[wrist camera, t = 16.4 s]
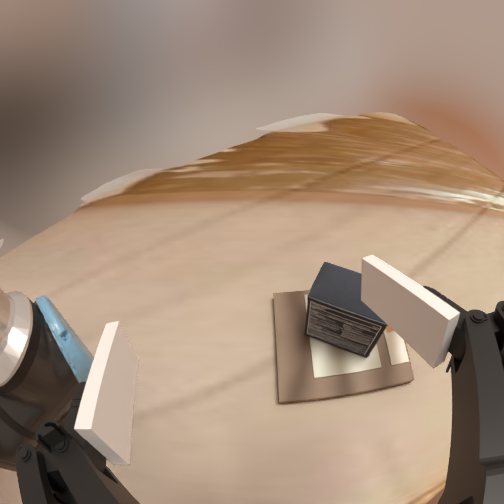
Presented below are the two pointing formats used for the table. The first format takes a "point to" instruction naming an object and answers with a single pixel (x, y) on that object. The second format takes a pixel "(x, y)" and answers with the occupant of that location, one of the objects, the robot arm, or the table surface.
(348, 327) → the small box
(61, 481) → the robot arm
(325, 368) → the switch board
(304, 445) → the table surface
